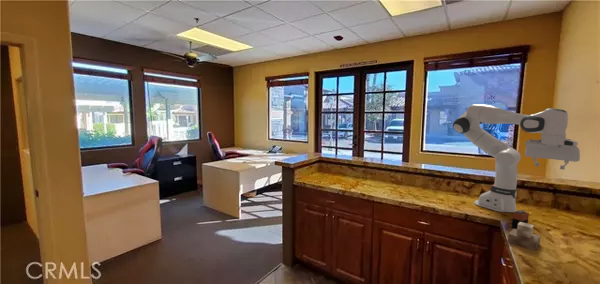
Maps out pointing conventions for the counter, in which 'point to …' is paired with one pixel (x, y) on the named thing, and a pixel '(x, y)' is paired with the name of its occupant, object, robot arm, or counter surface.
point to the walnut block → (524, 240)
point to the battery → (519, 218)
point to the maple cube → (525, 229)
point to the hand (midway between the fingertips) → (549, 167)
